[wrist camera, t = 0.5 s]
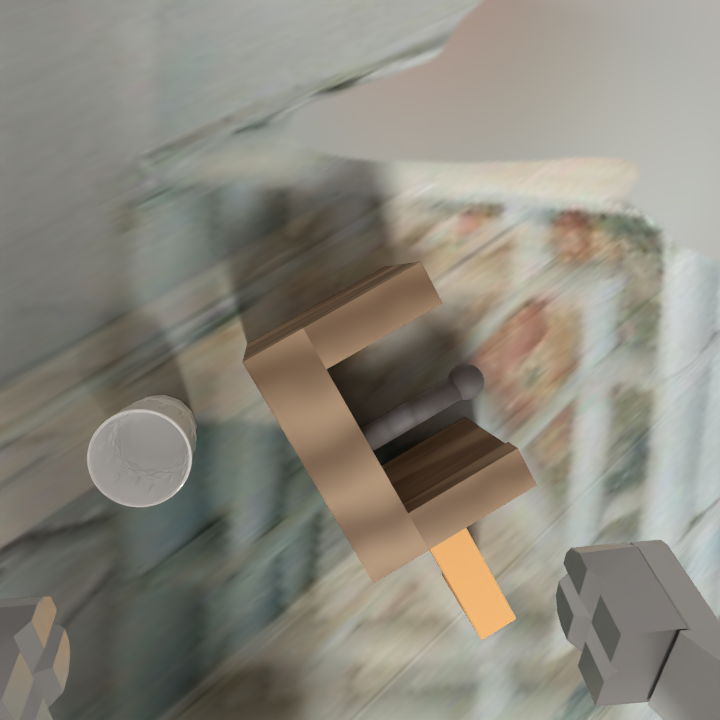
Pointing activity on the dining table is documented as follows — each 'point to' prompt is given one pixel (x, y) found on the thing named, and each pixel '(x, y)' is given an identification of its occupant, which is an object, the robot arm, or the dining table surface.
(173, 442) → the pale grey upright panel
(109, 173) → the dining table surface
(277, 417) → the notched shelf
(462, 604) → the wooden arch block
